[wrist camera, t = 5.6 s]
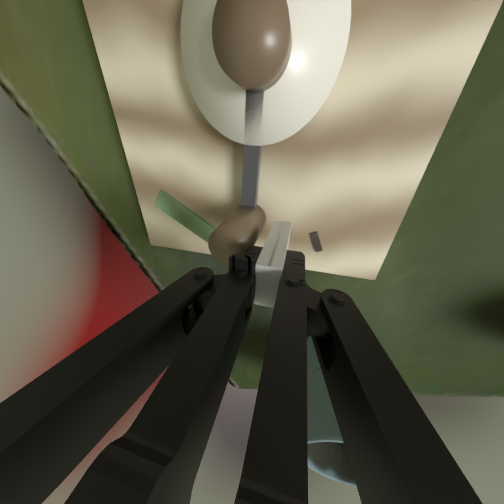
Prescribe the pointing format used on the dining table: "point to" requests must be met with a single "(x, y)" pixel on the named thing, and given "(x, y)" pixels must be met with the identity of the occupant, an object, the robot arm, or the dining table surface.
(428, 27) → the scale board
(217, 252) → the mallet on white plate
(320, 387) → the blue cup
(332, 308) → the robot arm
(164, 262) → the dining table surface
